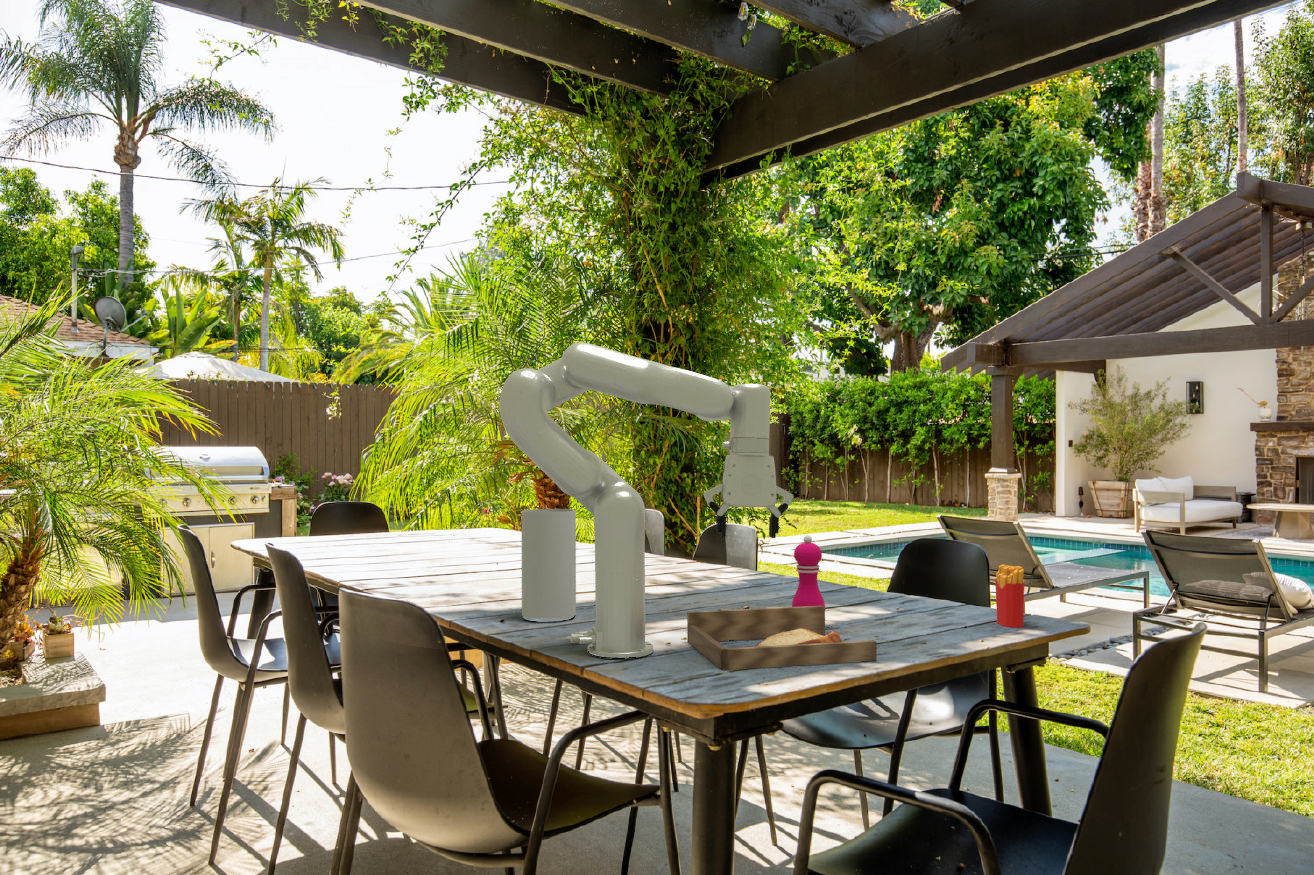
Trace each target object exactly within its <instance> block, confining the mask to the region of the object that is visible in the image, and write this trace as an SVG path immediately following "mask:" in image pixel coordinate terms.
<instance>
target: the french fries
mask: <svg viewBox="0 0 1314 875" xmlns="http://www.w3.org/2000/svg"><path fill="white" fill-rule="evenodd" d="M1024 572H1025V569H1023V566H1020V565H1016V566H1013V565H1008V564H1005V563H1004V564H1000V565H998V570H997V572H996V573H995V577H996V578H995V579H994V580H995V581H994V582H995V600H996V601H995V602H996V603H995V605H996V607H995V608H996V622H997V624H999V625H1001V626H1003V627H1006V628H1011V629H1012V628H1013V629H1014V628H1015V629H1018V628H1019V629H1020V628H1024V623H1025V622H1024V620H1025V617H1024V616H1025V614H1024V613H1025V582H1024V576H1025V575H1024V574H1025V573H1024Z"/></svg>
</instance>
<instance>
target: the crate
mask: <svg viewBox="0 0 1314 875" xmlns="http://www.w3.org/2000/svg"><path fill="white" fill-rule="evenodd" d="M686 614H687V616H686V617H687V622H686V624H687V626H686V628H687V639H686V640H687V643H689V644H690V645H691V646H693V647H694V648H695V649H696V650H697V651H698V652H699V653H701V654H702V655H703V656H704V657H705V658H707V657H708V658H707V659H708V660H709V659H710V660H711V661H710V660H709V661H710V662H712V663H713V664H714V665H715V666H716V665H717V666H716V667H717V668H719V669H720V670H721V671H733V670H735V671H736V670H747V669H748V670H750V669H751V670H752V669H764V668H765V669H766V668H782V667H783V668H784V667H798V666H799V667H801V666H816V665H833V664H847V663H848V662H849V664H851V663H862V662H861V661H868V662H873V661H872V660H877V658H878V657H877V650H878V649H877V641H876V640H872V639H871V640H870V639H869V640H853V641H852V640H851V641H842V642H833V643H814V644H796V645H778V646H760V647H757V646H748V647H747V646H744V647H743V646H742V647H730V648H729V647H726V646H724V645H723V644H721V643H720V642H730V641H729V640H734V641H748V640H749V641H750V640H766V638H768V637H770V636H772V635H776V634H779V633H781V632H787V631H791V630H796V629H799V628H804V629H807V630H810V631H813V632H815V633H817V634H820V635H823V636H826V605H825V606H804V607H792V606H786V607H764V608H760V607H759V608H743V609H720V610H719V609H718V610H699V611H698V610H697V611H696V610H694V611H687V612H686ZM850 662H851V663H850Z"/></svg>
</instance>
